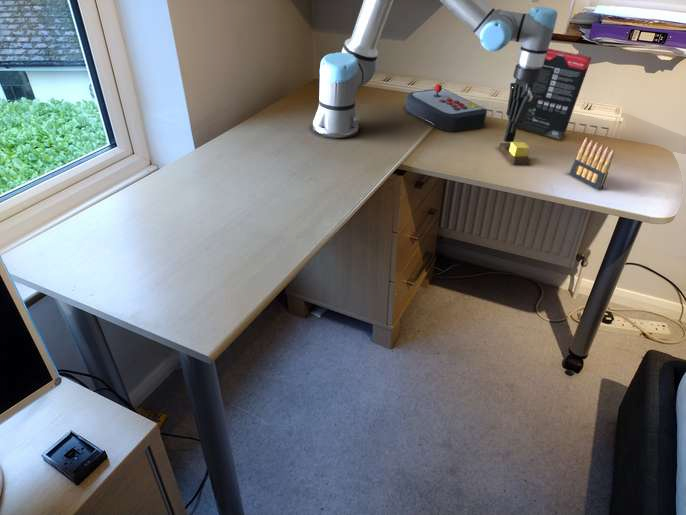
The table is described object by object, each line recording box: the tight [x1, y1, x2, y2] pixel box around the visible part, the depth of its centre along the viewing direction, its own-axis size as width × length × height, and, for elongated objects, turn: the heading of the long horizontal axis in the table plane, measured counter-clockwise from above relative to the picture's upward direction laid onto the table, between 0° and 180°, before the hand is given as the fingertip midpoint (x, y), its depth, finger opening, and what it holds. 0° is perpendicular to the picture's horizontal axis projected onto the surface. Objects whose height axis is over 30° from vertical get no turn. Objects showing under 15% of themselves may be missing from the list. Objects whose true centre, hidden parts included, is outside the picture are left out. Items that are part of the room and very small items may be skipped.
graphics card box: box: [517, 47, 592, 141], centre depth 172 cm, size 17×7×27 cm, turn 58°
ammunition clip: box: [568, 137, 615, 190], centre depth 147 cm, size 11×2×12 cm, turn 30°
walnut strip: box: [498, 142, 531, 166], centre depth 161 cm, size 12×5×2 cm, turn 8°
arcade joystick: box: [404, 83, 488, 132], centre depth 183 cm, size 28×19×10 cm
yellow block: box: [509, 141, 530, 157], centre depth 158 cm, size 4×4×3 cm
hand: (508, 140), depth 163 cm, fingers closed
